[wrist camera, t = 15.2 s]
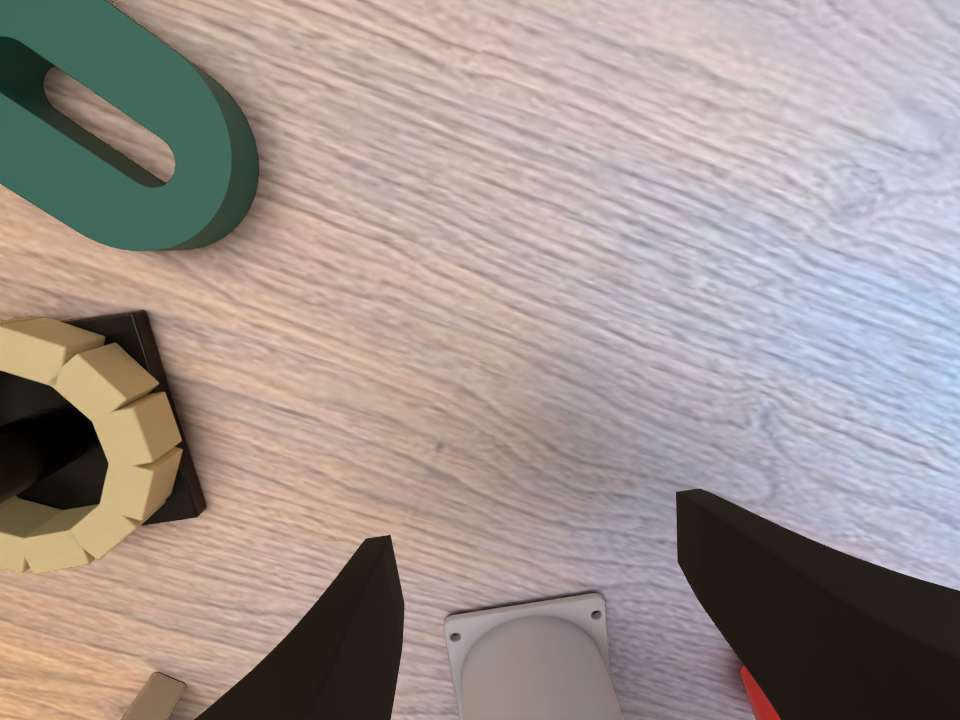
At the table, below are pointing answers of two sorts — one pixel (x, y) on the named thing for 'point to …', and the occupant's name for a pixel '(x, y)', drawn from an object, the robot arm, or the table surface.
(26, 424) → the post
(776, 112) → the table surface
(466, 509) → the table surface
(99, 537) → the tan segmented ring
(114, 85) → the bracket
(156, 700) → the lighter
